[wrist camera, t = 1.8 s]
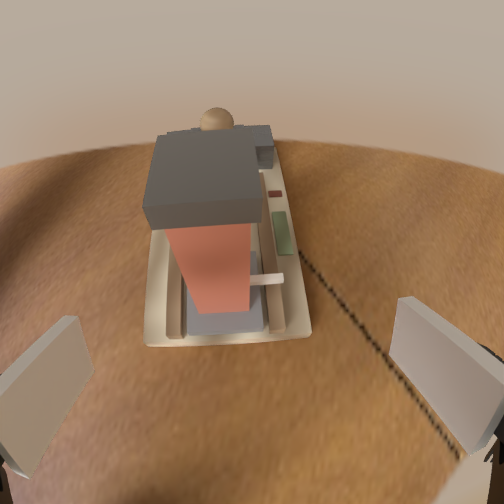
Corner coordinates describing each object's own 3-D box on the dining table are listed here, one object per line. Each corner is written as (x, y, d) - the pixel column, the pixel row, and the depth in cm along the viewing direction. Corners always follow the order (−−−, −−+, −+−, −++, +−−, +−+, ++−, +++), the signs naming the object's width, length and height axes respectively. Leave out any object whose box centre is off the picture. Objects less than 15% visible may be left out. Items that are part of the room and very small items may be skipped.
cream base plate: (148, 346, 24) (138, 338, 22) (166, 163, 36) (162, 147, 33) (308, 337, 25) (315, 328, 22) (275, 156, 37) (276, 140, 34)
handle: (189, 335, 23) (124, 230, 11) (189, 260, 27) (150, 125, 14) (285, 329, 23) (328, 217, 11) (275, 255, 27) (295, 116, 15)
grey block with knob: (168, 176, 32) (160, 144, 28) (172, 154, 35) (165, 124, 31) (272, 169, 33) (275, 136, 29) (268, 147, 35) (270, 116, 31)
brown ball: (201, 147, 30) (197, 120, 27) (202, 129, 32) (199, 103, 29) (234, 145, 30) (234, 117, 27) (233, 126, 32) (232, 100, 29)
